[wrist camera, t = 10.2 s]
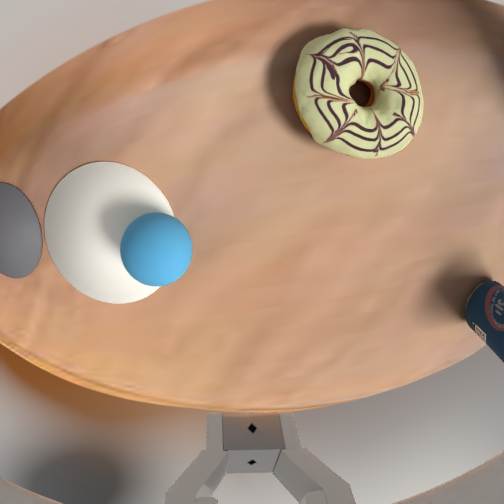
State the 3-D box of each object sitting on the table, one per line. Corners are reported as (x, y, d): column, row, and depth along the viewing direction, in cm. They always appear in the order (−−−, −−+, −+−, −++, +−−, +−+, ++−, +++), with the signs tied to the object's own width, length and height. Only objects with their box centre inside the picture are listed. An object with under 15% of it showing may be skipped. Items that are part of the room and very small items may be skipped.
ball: (167, 201, 19) (146, 193, 23) (110, 266, 18) (101, 245, 22) (218, 253, 22) (189, 236, 26) (169, 312, 21) (148, 284, 25)
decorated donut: (275, 41, 19) (284, 26, 16) (392, 38, 19) (415, 29, 16) (300, 164, 24) (314, 170, 20) (412, 148, 24) (436, 153, 20)
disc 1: (3, 161, 20) (2, 161, 20) (59, 241, 24) (58, 242, 24) (-35, 224, 22) (-35, 225, 21) (14, 293, 25) (13, 294, 25)
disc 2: (114, 128, 21) (113, 128, 21) (209, 252, 25) (209, 253, 25) (24, 225, 23) (23, 225, 22) (108, 323, 27) (108, 324, 27)
